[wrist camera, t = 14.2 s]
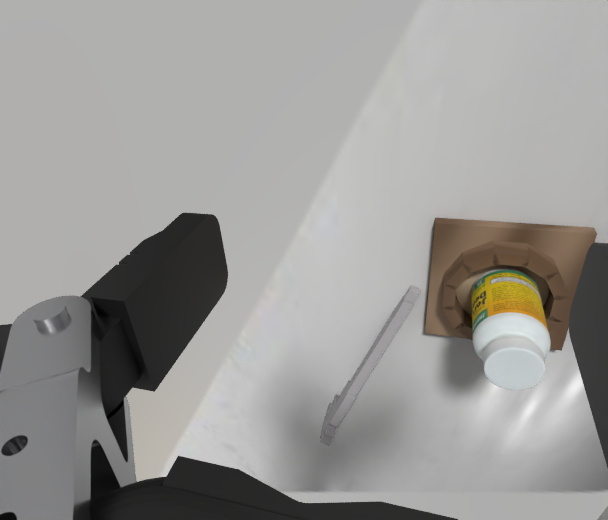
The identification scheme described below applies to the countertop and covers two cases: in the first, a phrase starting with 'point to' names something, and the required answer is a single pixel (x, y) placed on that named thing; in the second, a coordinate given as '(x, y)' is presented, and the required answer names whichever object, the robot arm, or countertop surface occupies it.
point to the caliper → (366, 367)
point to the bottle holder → (497, 254)
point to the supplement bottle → (509, 328)
